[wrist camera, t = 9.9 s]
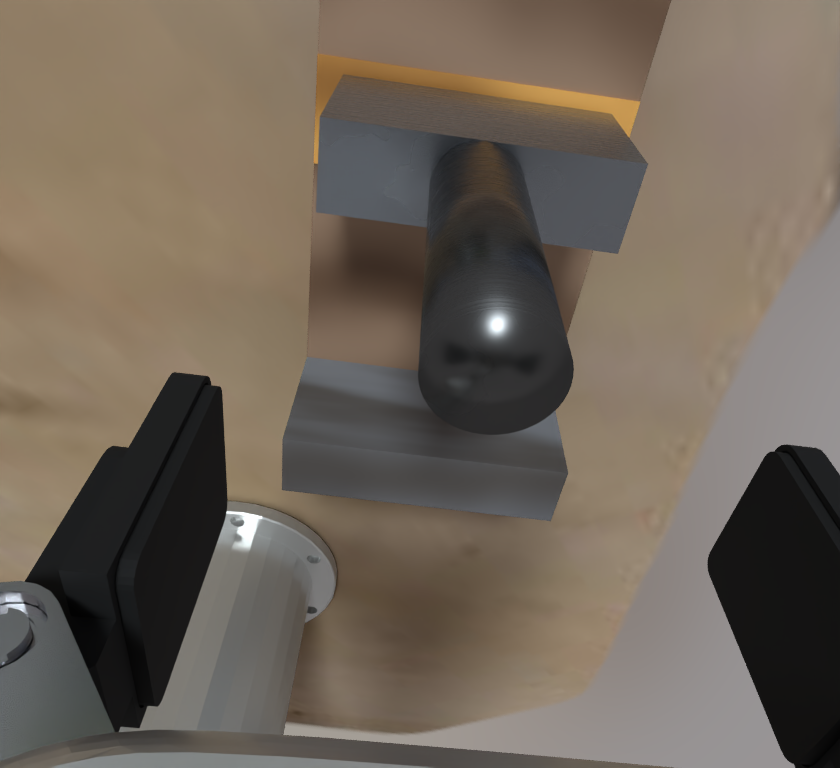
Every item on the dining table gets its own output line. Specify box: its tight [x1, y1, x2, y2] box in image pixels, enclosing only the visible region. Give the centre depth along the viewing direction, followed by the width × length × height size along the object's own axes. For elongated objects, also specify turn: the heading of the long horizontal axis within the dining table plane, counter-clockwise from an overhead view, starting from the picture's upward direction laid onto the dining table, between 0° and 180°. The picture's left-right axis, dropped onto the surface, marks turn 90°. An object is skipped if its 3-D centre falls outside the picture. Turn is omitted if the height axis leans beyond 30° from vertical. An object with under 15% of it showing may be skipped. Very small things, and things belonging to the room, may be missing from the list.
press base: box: [282, 0, 671, 521], centre depth 25 cm, size 26×12×8 cm, turn 173°
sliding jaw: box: [316, 74, 648, 435], centre depth 19 cm, size 3×10×16 cm, turn 83°
